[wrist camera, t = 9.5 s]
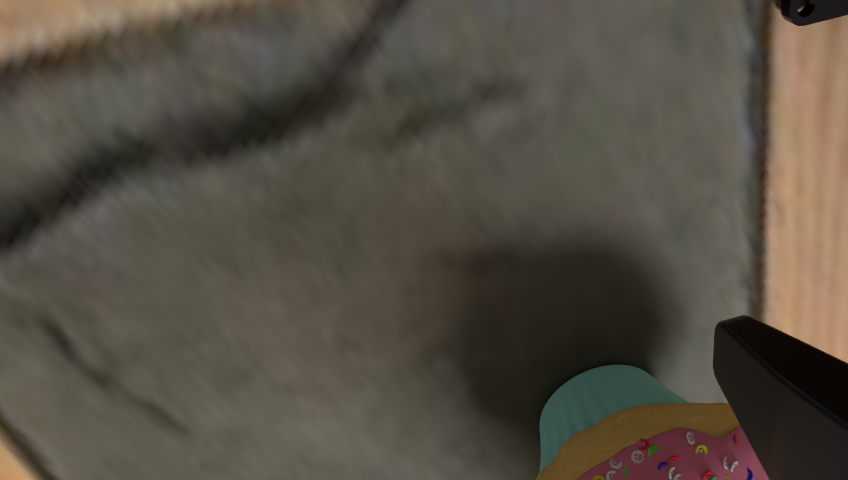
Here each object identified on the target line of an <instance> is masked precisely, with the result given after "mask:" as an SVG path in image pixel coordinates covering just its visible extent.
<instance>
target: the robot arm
mask: <svg viewBox="0 0 848 480" xmlns="http://www.w3.org/2000/svg"><path fill="white" fill-rule="evenodd" d="M803 1H804V0H782V1H781V14H782V16H783V17H784V19H785V20H787V21H789V22H791V23H793V24H795V25H797V26H805V25H809V24H813V23H817V22H821V21H825V20H829V19H833V18H837V17H841V16H845V15H848V0H806V1H807V2H806V5H805V7H804V8H803V9H802V10H801V11H800V12H798V8H799V5H800V4H801V3H802V2H803ZM713 369H714V374H715V377H716V379H717V382H718V384H719V386H720V388H721V390H722V391H723V393H724V395H725V397H726V399H727V401H728V403H729V405H730V407H731V409H732V410H733V412H734V414H735V416H736V418H737V420H738V422H739V424H740V426H741V428H742V429H743V431H744V433H745V435H746V437H747V439H748V441H749V443H750V445H751V447H752V448H753V450H754V452H755V454H756V456H757V458H758V460H759V462H760V464H761V465H762V467H763V469H764V471H765V472H766V474H767V476H768V478H769V479H770V480H848V363H846V362H844V361H842V360H840V359H838V358H836V357H834V356H832V355H830V354H828V353H825V352H823V351H821V350H819V349H817V348H815V347H813V346H811V345H809V344H807V343H805V342H803V341H801V340H799V339H796V338H794V337H792V336H790V335H788V334H786V333H784V332H782V331H780V330H778V329H776V328H774V327H772V326H769V325H767V324H765V323H763V322H761V321H759V320H757V319H755V318H753V317H750V316H746V315H742V316H738V317H734V318H731V319H727V320H724V321H721V322H719V323H718V324H717V325H716V327H715V336H714V354H713Z"/></svg>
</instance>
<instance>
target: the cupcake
mask: <svg viewBox="0 0 848 480" xmlns="http://www.w3.org/2000/svg"><path fill="white" fill-rule="evenodd" d="M539 429H540V443H541V460H540V472H539V474H538V475H537V477H536V480H770V479H769V478H768V476H767V474H766V472H765V471H764V469H763V467H762V465H761V464H760V462H759V460H758V458H757V456H756V454H755V452H754V450H753V448H752V447H751V445H750V443H749V441H748V439H747V437H746V435H745V433H744V431H743V429H742V428H741V426H740V424H739V422H738V420H737V418H736V416H735V414H734V412H733V410H732V409H731V407H730V405H729V404H727V403H711V404H705V403H688V402H687V401H685V400H683V399H682V398H680V397H679V396H677V395H676V394H675V393H673V392H672V391H670V390H669V389H668V388H666V387H665V386H663V385H662V384H661V383H660V382H658V381H657V380H656V379H655V378H653V377H652V376H651V375H650V374H649V373H647V372H645V371H644V370H642V369H639V368H637V367H633V366H629V365H606V366H601V367H597V368H593V369H590V370H588V371H585V372H583V373H581V374H579V375H577V376H575V377H573V378H572V379H570V380H568V381H567V382H566V383H564V384H563V385H562V386H561V387H560V388H558V389H557V390H556V391H555V392H554V394H553V395H552V396H551V397H550V398H549V400H548V401H547V403H546V404H545V406H544V408H543V411H542V413H541V417H540V423H539Z"/></svg>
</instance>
